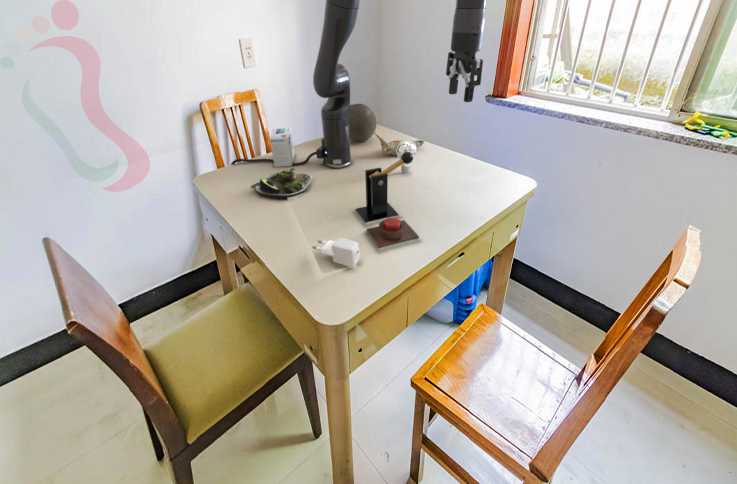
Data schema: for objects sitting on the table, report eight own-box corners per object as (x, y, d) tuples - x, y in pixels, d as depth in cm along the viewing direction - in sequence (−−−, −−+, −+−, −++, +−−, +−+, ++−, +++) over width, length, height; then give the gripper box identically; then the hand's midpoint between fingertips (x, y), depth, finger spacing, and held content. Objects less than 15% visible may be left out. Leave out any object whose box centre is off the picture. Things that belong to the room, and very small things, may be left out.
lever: (411, 157, 103) (407, 147, 101) (416, 161, 101) (412, 151, 98) (372, 183, 103) (367, 174, 101) (376, 188, 100) (371, 179, 98)
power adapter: (311, 260, 90) (308, 241, 87) (321, 249, 94) (319, 230, 91) (353, 272, 87) (351, 251, 83) (361, 260, 90) (361, 240, 87)
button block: (403, 224, 103) (404, 213, 101) (418, 241, 96) (419, 229, 94) (366, 233, 99) (366, 222, 97) (379, 251, 93) (379, 239, 91)
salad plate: (273, 170, 134) (271, 158, 131) (320, 175, 130) (319, 162, 127) (246, 196, 118) (243, 183, 116) (298, 201, 115) (296, 188, 112)
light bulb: (415, 169, 132) (417, 136, 125) (415, 178, 126) (417, 144, 119) (396, 169, 132) (396, 136, 125) (395, 178, 127) (395, 143, 120)
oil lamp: (370, 154, 144) (369, 128, 138) (417, 144, 151) (419, 119, 146) (380, 162, 138) (380, 135, 132) (429, 151, 145) (431, 126, 139)
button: (396, 221, 98) (396, 216, 97) (402, 229, 95) (402, 223, 94) (382, 225, 97) (382, 219, 96) (388, 233, 94) (388, 227, 93)
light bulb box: (277, 156, 145) (272, 128, 139) (295, 155, 145) (291, 127, 139) (274, 167, 136) (269, 138, 130) (292, 166, 137) (288, 137, 130)
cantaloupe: (351, 134, 163) (349, 98, 155) (381, 138, 158) (381, 101, 150) (336, 145, 153) (333, 107, 144) (368, 149, 148) (367, 111, 139)
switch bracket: (387, 205, 112) (387, 163, 104) (398, 218, 106) (399, 174, 98) (355, 212, 109) (353, 169, 101) (365, 225, 103) (364, 181, 95)
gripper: (441, 27, 97) (436, 92, 106) (468, 33, 86) (460, 106, 95) (467, 25, 99) (459, 90, 108) (497, 31, 87) (486, 103, 97)
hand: (460, 97), depth 102 cm, fingers open, 8 cm apart
